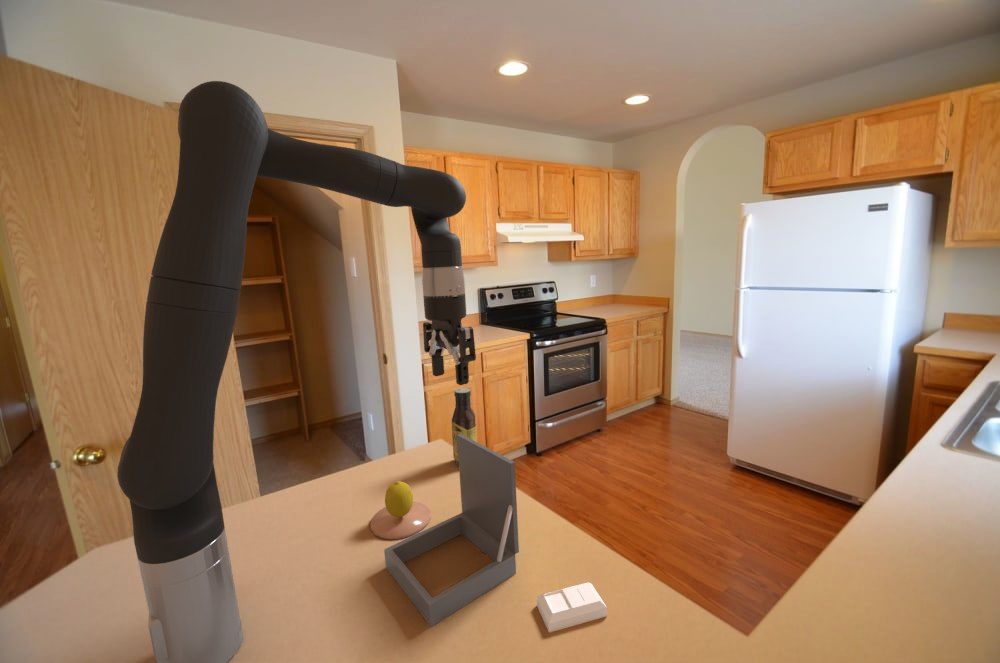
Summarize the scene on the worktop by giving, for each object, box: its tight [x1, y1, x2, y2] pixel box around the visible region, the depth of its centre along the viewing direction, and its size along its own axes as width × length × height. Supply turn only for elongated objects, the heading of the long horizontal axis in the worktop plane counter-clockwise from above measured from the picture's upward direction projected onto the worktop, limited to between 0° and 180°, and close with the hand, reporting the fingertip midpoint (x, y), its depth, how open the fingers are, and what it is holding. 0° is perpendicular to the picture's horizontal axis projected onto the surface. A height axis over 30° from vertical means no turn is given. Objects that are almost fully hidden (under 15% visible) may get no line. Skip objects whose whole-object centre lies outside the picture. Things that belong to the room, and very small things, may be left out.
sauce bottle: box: [451, 387, 478, 467], centre depth 109 cm, size 7×6×20 cm
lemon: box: [384, 480, 414, 518], centre depth 86 cm, size 6×6×8 cm
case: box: [383, 434, 520, 628], centre depth 70 cm, size 17×16×20 cm
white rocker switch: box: [536, 582, 608, 633], centre depth 62 cm, size 5×9×3 cm, turn 105°
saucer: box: [370, 501, 432, 540], centre depth 86 cm, size 12×12×1 cm
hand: (450, 379), depth 79 cm, fingers open, 8 cm apart
